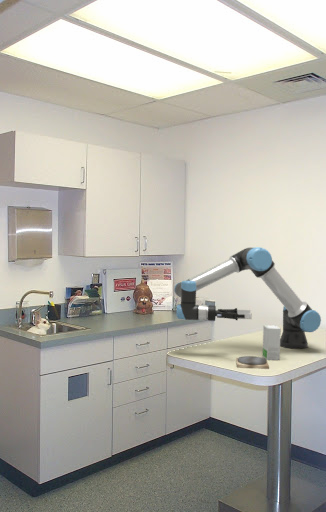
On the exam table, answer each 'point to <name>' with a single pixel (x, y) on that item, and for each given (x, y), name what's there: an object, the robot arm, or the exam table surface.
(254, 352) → the exam table surface
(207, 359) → the exam table surface
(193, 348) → the exam table surface
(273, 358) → the skincare box
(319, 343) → the exam table surface
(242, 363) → the rosette stand
